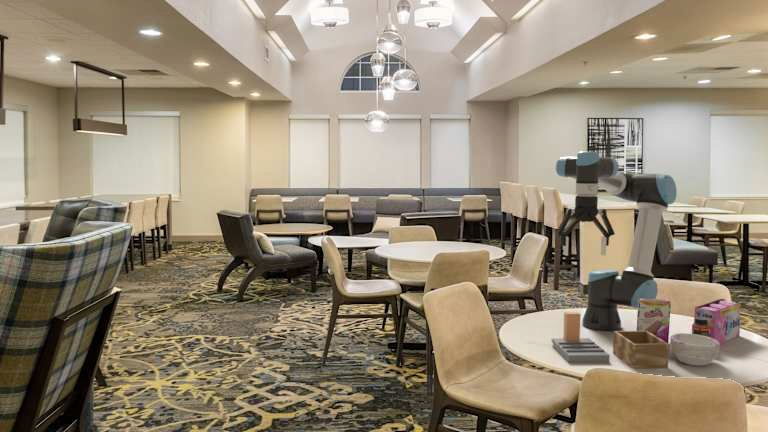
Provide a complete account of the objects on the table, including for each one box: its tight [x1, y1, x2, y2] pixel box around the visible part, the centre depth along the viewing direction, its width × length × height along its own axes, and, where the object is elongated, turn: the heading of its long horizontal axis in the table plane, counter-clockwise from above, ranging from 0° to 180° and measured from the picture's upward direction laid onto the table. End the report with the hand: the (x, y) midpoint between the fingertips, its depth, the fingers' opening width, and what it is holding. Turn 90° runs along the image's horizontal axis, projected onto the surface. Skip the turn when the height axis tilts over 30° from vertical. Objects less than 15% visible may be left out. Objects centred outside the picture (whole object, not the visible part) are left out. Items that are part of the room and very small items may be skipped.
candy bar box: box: [636, 298, 672, 344], centre depth 240 cm, size 11×5×16 cm, turn 71°
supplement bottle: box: [691, 317, 710, 337], centre depth 233 cm, size 6×6×11 cm
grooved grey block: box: [551, 311, 610, 364], centre depth 227 cm, size 20×14×12 cm
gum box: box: [693, 298, 741, 345], centre depth 246 cm, size 24×8×14 cm, turn 129°
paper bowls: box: [669, 332, 721, 367], centre depth 219 cm, size 15×15×8 cm
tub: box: [612, 330, 670, 369], centre depth 220 cm, size 16×12×8 cm
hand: (584, 255), depth 228 cm, fingers open, 13 cm apart
